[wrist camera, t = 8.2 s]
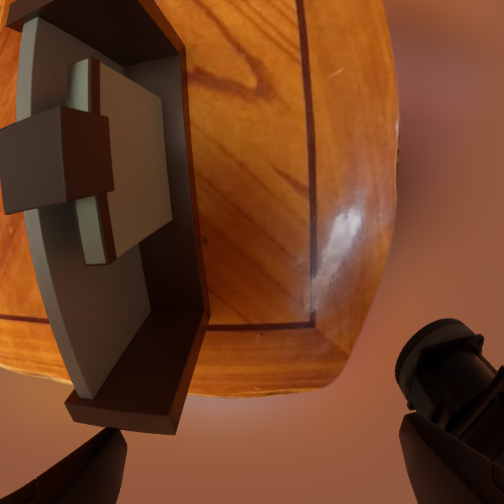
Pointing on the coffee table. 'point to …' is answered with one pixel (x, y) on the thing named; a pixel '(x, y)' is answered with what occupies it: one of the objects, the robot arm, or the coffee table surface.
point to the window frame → (139, 256)
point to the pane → (93, 161)
